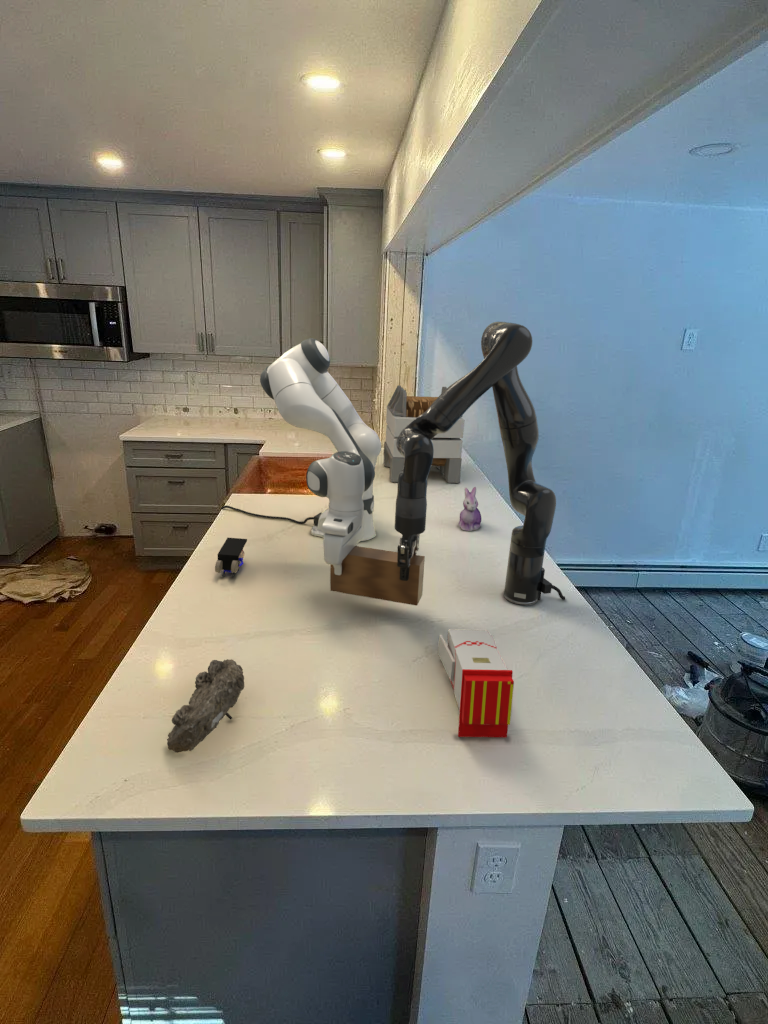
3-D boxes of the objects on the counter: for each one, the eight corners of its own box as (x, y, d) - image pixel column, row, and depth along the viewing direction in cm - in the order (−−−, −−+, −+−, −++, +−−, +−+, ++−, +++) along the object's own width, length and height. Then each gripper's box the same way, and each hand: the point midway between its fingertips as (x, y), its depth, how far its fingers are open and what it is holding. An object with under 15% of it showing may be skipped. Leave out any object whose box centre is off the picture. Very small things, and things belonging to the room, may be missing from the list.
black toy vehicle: (238, 584, 162) (249, 557, 175) (236, 562, 158) (247, 536, 172) (215, 584, 161) (227, 556, 175) (212, 561, 158) (225, 535, 171)
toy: (488, 613, 130) (523, 677, 101) (484, 667, 133) (517, 744, 104) (435, 612, 130) (455, 676, 101) (432, 666, 133) (451, 743, 103)
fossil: (192, 660, 117) (244, 628, 112) (224, 691, 120) (276, 661, 115) (142, 746, 98) (202, 712, 93) (182, 779, 101) (242, 748, 96)
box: (330, 590, 148) (330, 551, 144) (338, 581, 153) (338, 543, 149) (417, 605, 142) (419, 565, 138) (422, 595, 147) (424, 556, 144)
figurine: (467, 533, 203) (471, 493, 198) (451, 523, 211) (454, 485, 206) (488, 529, 207) (492, 490, 202) (471, 520, 215) (475, 482, 210)
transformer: (382, 463, 289) (386, 382, 275) (445, 464, 293) (451, 384, 279) (390, 482, 257) (394, 392, 243) (460, 483, 261) (468, 394, 247)
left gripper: (348, 502, 153) (346, 549, 158) (318, 528, 134) (318, 581, 139) (370, 506, 151) (368, 553, 156) (343, 532, 133) (342, 585, 137)
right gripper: (419, 524, 130) (415, 589, 136) (431, 504, 143) (427, 565, 149) (387, 519, 132) (385, 584, 138) (403, 501, 145) (400, 561, 151)
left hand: (344, 566), depth 147 cm, fingers open, 8 cm apart
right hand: (407, 574), depth 143 cm, fingers closed on box, 6 cm apart
